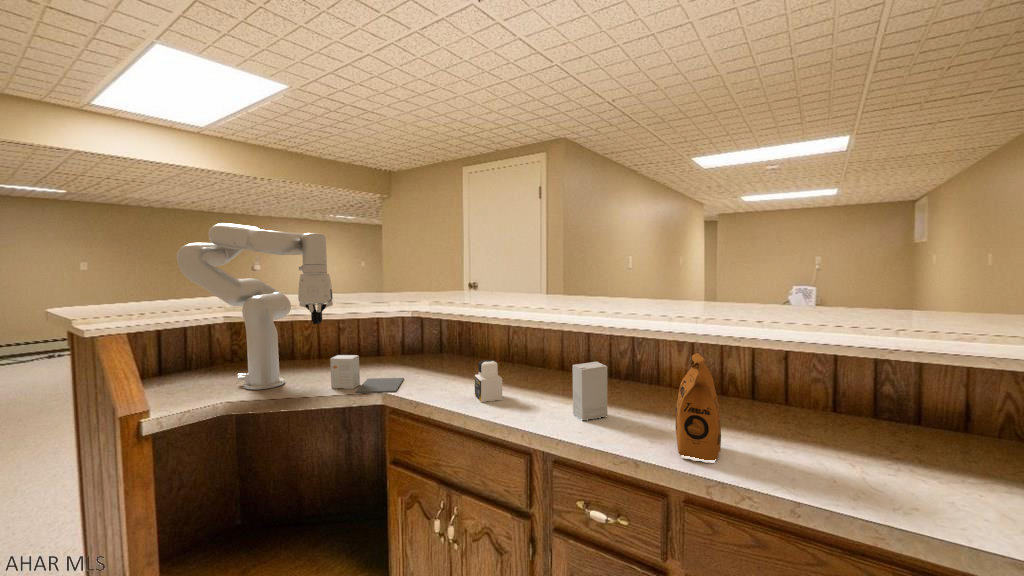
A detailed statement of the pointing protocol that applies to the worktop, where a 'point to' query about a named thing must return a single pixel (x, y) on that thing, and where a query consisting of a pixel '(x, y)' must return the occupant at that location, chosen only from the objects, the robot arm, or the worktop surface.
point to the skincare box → (590, 390)
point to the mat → (380, 385)
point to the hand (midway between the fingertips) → (317, 323)
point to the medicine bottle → (488, 382)
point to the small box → (345, 371)
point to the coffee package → (698, 414)
